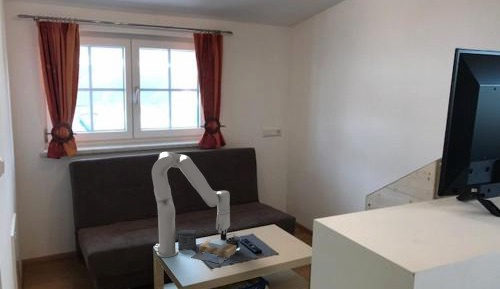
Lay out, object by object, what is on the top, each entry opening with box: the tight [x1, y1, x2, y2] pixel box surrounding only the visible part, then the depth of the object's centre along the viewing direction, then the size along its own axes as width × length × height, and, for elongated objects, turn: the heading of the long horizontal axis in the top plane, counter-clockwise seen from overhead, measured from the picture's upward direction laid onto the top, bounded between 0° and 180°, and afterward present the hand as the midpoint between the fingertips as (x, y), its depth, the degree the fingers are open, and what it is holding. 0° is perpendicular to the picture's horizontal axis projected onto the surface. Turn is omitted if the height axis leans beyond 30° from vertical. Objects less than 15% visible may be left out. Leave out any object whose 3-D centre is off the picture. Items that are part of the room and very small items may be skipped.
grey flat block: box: [208, 238, 227, 249], centre depth 234 cm, size 9×6×2 cm, turn 65°
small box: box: [177, 229, 197, 251], centre depth 240 cm, size 11×6×10 cm, turn 92°
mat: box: [190, 250, 229, 265], centre depth 227 cm, size 20×9×1 cm, turn 65°
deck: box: [198, 239, 237, 259], centre depth 235 cm, size 20×10×4 cm, turn 65°
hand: (223, 239), depth 241 cm, fingers closed
